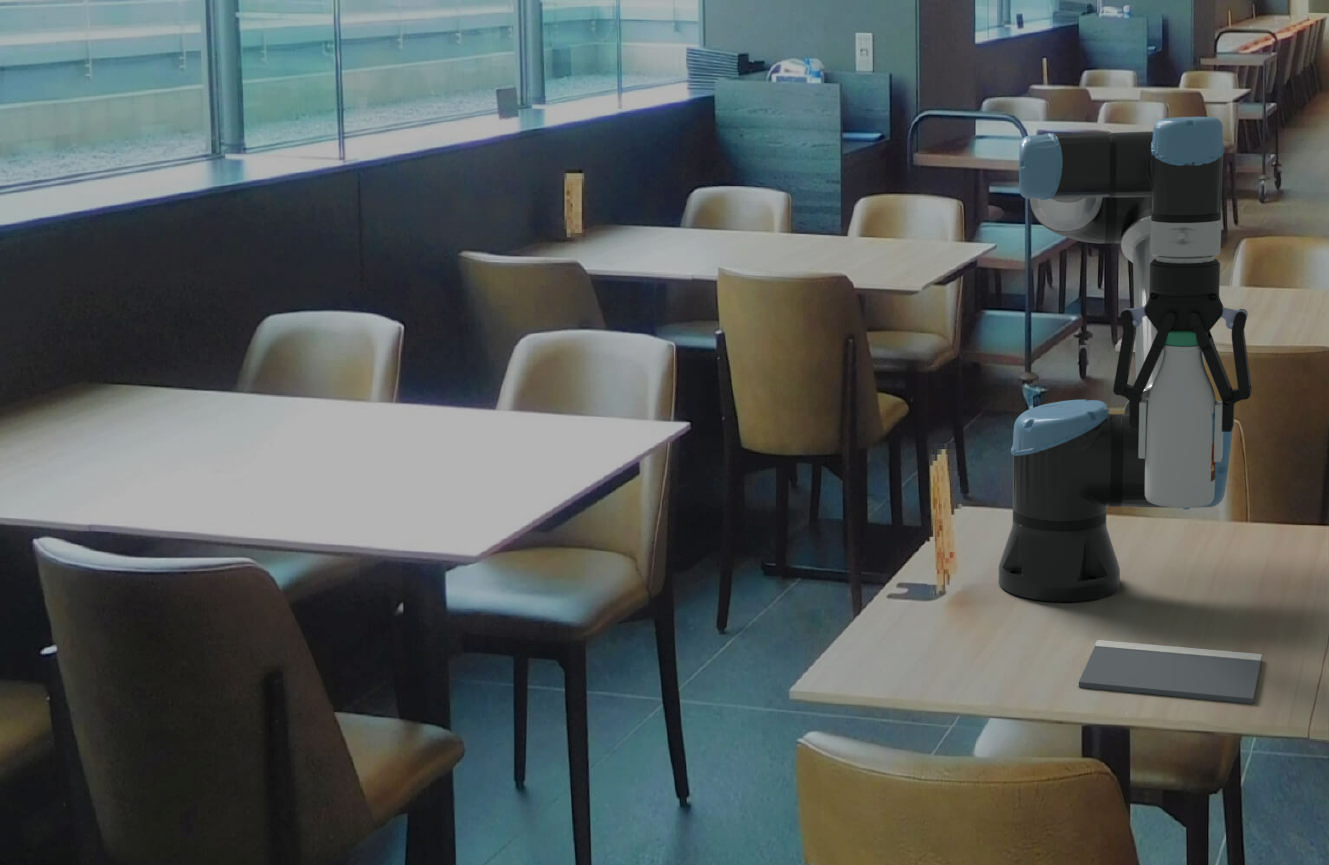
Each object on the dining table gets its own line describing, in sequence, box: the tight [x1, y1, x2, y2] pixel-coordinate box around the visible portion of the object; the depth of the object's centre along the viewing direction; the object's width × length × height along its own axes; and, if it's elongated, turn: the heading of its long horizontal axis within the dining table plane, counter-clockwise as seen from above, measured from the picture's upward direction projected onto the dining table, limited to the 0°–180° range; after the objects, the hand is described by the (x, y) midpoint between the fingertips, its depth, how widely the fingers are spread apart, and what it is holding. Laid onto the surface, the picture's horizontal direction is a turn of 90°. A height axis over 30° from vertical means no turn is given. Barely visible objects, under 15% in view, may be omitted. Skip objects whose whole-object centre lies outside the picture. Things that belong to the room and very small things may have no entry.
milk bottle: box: [1145, 331, 1217, 509], centre depth 202 cm, size 8×8×20 cm
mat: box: [1078, 639, 1263, 705], centre depth 196 cm, size 18×14×1 cm
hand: (1180, 457), depth 203 cm, fingers closed on milk bottle, 7 cm apart
